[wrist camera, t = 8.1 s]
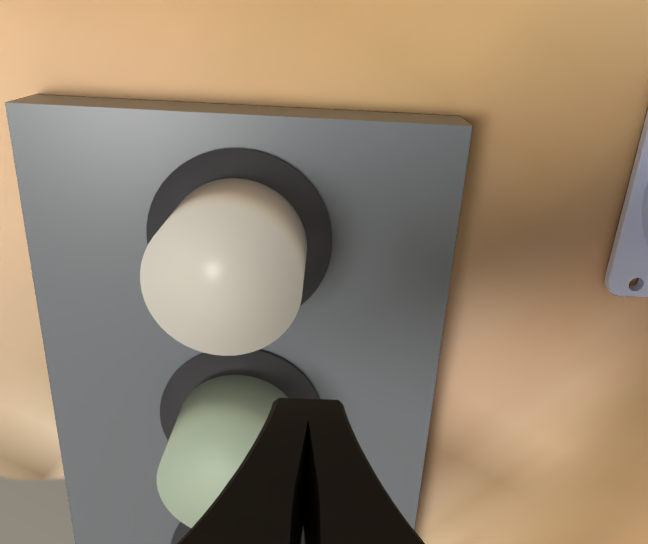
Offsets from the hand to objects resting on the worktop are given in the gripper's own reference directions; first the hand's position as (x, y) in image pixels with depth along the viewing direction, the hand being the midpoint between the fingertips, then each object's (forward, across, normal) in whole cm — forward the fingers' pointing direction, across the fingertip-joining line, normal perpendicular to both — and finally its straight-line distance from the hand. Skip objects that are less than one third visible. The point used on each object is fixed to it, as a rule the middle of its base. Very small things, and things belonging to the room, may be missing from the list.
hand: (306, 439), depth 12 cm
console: (+10, +2, +6) cm, 12 cm away
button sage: (+8, +2, +6) cm, 10 cm away
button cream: (+8, +2, -1) cm, 8 cm away
